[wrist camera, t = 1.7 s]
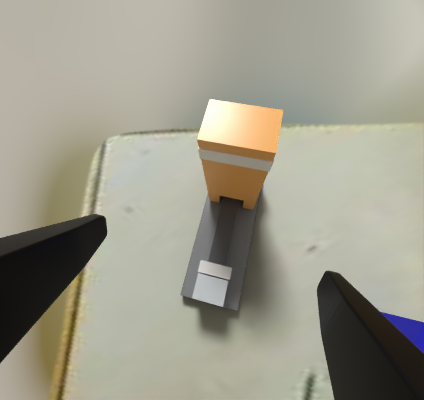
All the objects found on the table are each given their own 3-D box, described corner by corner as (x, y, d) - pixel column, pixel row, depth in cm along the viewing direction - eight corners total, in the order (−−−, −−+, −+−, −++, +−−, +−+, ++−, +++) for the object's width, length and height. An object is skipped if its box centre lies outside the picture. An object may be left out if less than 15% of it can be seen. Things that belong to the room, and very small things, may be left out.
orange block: (252, 210, 22) (276, 153, 12) (209, 201, 22) (196, 139, 12) (258, 183, 23) (284, 109, 13) (216, 175, 23) (209, 98, 13)
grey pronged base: (237, 309, 20) (240, 317, 16) (182, 294, 21) (172, 298, 17) (261, 179, 24) (268, 160, 20) (215, 170, 25) (213, 151, 21)
